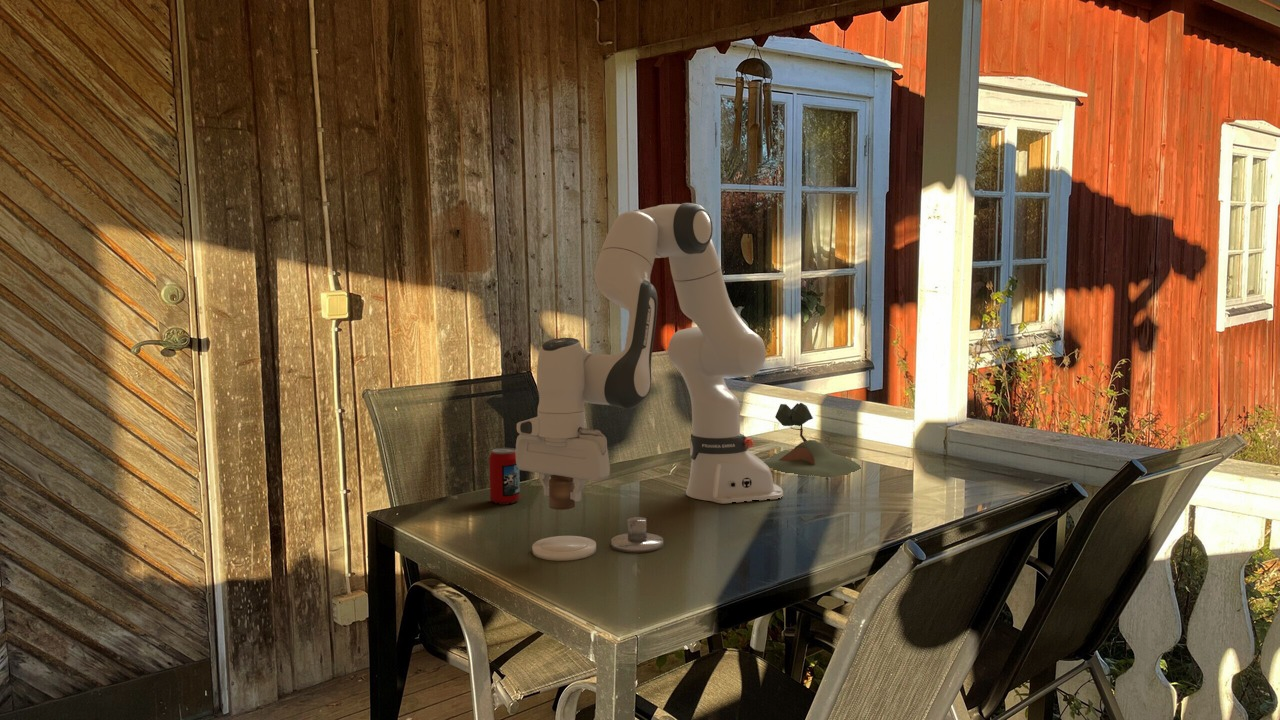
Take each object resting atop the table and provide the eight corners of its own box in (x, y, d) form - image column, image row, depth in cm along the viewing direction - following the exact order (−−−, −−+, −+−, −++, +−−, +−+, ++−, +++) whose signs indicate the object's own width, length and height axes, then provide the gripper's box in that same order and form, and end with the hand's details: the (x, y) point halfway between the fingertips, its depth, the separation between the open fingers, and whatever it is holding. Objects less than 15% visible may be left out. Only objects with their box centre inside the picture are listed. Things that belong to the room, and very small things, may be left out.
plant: (788, 450, 277) (788, 389, 276) (893, 467, 252) (894, 401, 250) (721, 464, 258) (721, 399, 256) (827, 485, 232) (828, 413, 231)
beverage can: (514, 505, 214) (513, 453, 213) (486, 504, 216) (484, 452, 215) (524, 498, 221) (522, 447, 220) (496, 497, 222) (495, 446, 221)
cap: (579, 505, 180) (579, 475, 179) (565, 510, 176) (565, 479, 175) (558, 502, 182) (558, 472, 182) (544, 507, 178) (543, 477, 177)
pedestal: (660, 536, 189) (659, 511, 188) (666, 551, 179) (665, 525, 178) (609, 538, 188) (609, 513, 187) (613, 553, 178) (612, 527, 177)
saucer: (594, 540, 186) (594, 533, 186) (597, 559, 175) (597, 551, 174) (533, 542, 185) (532, 535, 185) (531, 561, 173) (531, 554, 173)
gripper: (616, 428, 174) (617, 502, 176) (531, 419, 186) (533, 488, 187) (595, 433, 169) (596, 509, 170) (509, 423, 181) (511, 495, 182)
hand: (562, 498), depth 179 cm, fingers closed on cap, 5 cm apart
